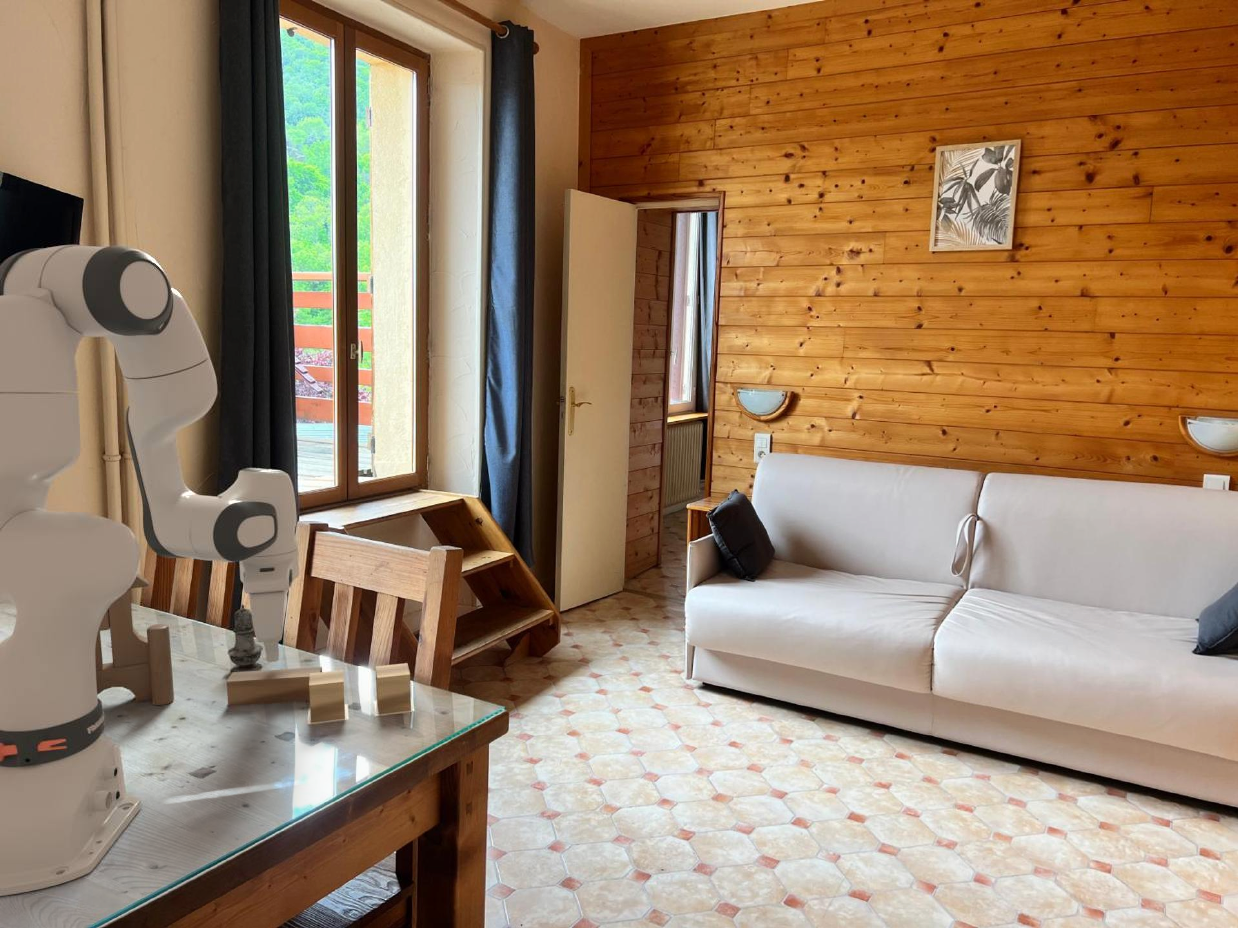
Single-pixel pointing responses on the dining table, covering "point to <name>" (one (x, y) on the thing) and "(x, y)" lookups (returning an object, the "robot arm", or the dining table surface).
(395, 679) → the pillar far
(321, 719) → the pillar near
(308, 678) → the wooden block
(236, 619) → the salt shaker
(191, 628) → the dining table surface
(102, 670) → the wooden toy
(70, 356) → the robot arm
